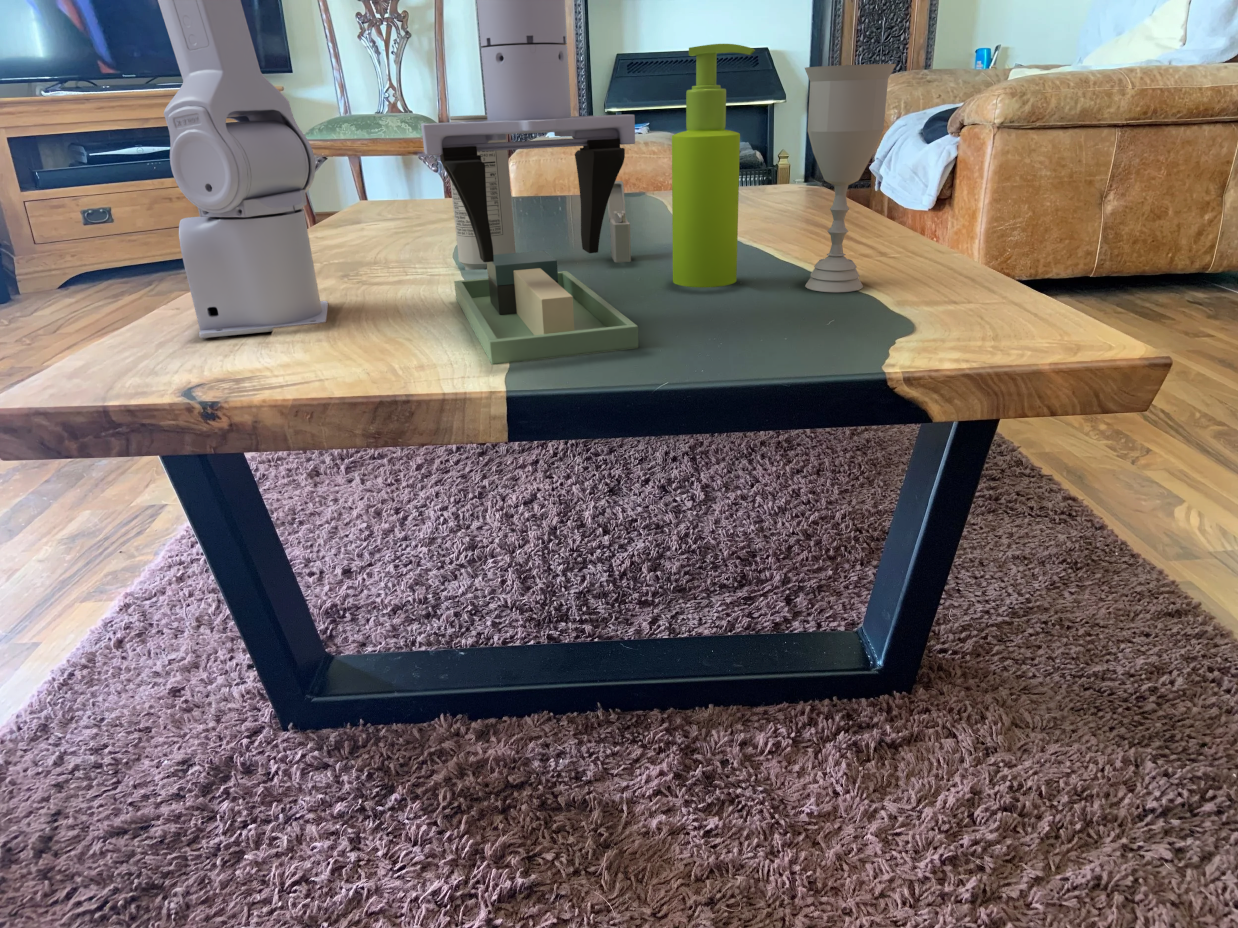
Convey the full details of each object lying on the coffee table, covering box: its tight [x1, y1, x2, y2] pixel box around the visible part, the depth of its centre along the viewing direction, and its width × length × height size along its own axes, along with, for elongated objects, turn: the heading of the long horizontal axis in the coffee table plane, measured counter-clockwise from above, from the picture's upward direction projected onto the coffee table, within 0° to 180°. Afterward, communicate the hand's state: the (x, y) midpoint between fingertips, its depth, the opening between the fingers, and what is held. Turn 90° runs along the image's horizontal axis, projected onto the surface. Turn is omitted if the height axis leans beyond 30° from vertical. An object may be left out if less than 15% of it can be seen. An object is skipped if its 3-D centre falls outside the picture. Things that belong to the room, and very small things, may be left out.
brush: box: [487, 250, 574, 335], centre depth 64 cm, size 16×5×4 cm, turn 17°
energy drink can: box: [449, 114, 517, 271], centre depth 86 cm, size 6×6×15 cm
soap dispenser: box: [671, 43, 756, 288], centre depth 73 cm, size 6×7×20 cm
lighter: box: [607, 180, 632, 263], centre depth 89 cm, size 7×2×8 cm, turn 6°
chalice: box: [804, 63, 897, 293], centre depth 72 cm, size 7×7×18 cm
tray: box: [453, 270, 639, 366], centre depth 65 cm, size 21×10×2 cm, turn 17°
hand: (539, 255), depth 61 cm, fingers open, 7 cm apart
